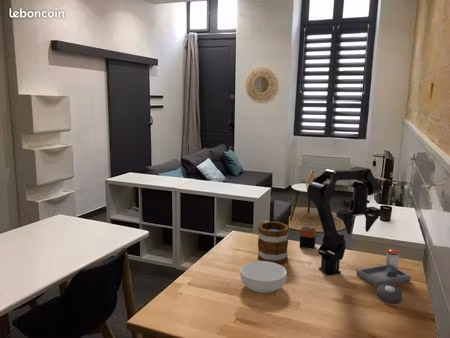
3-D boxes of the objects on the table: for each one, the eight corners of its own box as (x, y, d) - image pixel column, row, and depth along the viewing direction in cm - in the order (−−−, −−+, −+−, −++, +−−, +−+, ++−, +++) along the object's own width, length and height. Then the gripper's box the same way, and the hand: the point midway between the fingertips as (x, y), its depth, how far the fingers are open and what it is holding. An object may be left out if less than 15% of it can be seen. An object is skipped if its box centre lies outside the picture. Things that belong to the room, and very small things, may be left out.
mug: (292, 265, 155) (293, 231, 153) (261, 267, 154) (261, 232, 151) (279, 246, 175) (280, 216, 172) (251, 248, 173) (251, 217, 170)
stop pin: (386, 276, 143) (388, 252, 141) (383, 271, 147) (385, 247, 145) (398, 277, 142) (401, 253, 140) (395, 272, 147) (397, 248, 145)
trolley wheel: (388, 305, 125) (389, 295, 124) (371, 293, 132) (372, 284, 132) (406, 301, 128) (407, 291, 127) (389, 290, 135) (390, 280, 134)
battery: (314, 249, 171) (315, 229, 170) (299, 247, 174) (300, 227, 172) (315, 246, 175) (316, 225, 174) (300, 244, 178) (301, 224, 176)
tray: (376, 288, 136) (376, 282, 136) (356, 275, 146) (356, 269, 146) (410, 281, 141) (410, 275, 141) (388, 269, 151) (389, 263, 151)
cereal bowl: (291, 282, 141) (291, 265, 140) (278, 304, 126) (279, 285, 125) (249, 273, 148) (249, 257, 147) (233, 293, 133) (233, 275, 132)
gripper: (365, 190, 164) (363, 224, 167) (329, 194, 158) (327, 229, 161) (383, 196, 153) (380, 232, 156) (346, 201, 147) (343, 238, 150)
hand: (357, 232), depth 156 cm, fingers open, 9 cm apart
